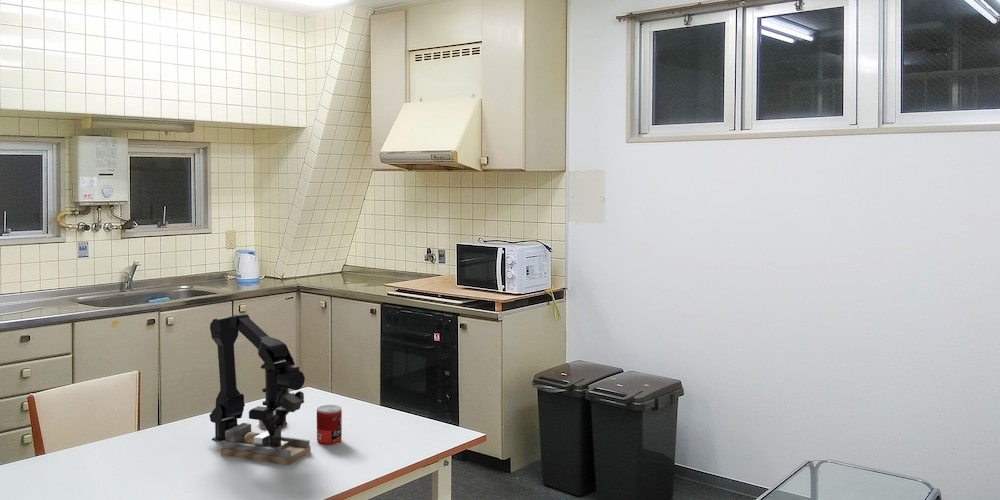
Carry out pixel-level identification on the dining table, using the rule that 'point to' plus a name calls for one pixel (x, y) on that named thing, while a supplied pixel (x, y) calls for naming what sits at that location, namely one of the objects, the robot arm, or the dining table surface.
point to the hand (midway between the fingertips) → (275, 434)
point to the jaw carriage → (271, 439)
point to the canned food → (329, 424)
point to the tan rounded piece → (249, 438)
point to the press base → (262, 447)
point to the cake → (265, 427)
